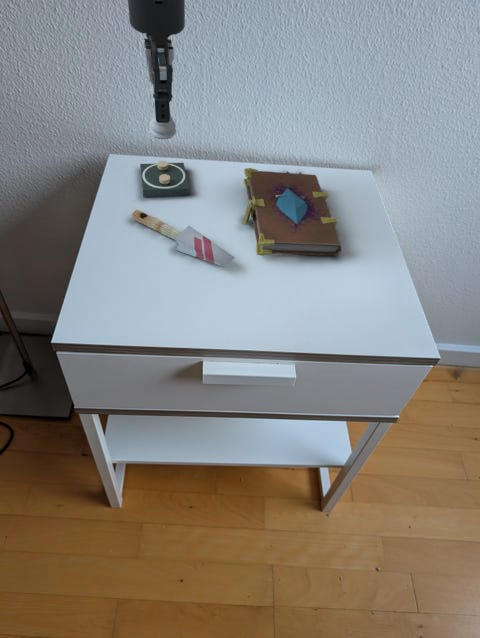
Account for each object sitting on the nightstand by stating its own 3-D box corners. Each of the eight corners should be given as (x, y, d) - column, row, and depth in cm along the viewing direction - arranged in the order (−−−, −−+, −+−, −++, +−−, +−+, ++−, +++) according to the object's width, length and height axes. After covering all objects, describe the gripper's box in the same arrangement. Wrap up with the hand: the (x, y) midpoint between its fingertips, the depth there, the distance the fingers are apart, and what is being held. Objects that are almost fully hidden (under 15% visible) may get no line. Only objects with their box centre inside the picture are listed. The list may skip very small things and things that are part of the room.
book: (310, 177, 89) (317, 155, 85) (338, 262, 74) (348, 240, 70) (232, 171, 86) (236, 149, 82) (246, 259, 71) (251, 236, 67)
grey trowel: (223, 262, 66) (127, 213, 72) (223, 275, 68) (129, 226, 75) (237, 249, 68) (142, 202, 75) (236, 261, 70) (144, 215, 77)
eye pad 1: (157, 170, 81) (157, 166, 81) (157, 164, 82) (156, 160, 82) (168, 170, 82) (168, 166, 81) (167, 164, 83) (167, 160, 82)
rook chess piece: (161, 123, 74) (159, 74, 68) (181, 133, 72) (181, 84, 66) (143, 133, 71) (139, 83, 65) (164, 143, 70) (162, 93, 64)
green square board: (143, 197, 79) (142, 189, 78) (140, 170, 84) (140, 163, 82) (188, 195, 80) (188, 187, 79) (183, 169, 85) (183, 161, 84)
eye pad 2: (159, 184, 79) (159, 180, 78) (159, 177, 80) (158, 174, 79) (170, 184, 79) (170, 180, 78) (169, 177, 80) (169, 173, 79)
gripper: (123, -33, 59) (135, 94, 73) (129, 3, 51) (141, 139, 65) (178, -29, 61) (179, 95, 74) (191, 6, 53) (190, 138, 66)
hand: (161, 115), depth 69 cm, fingers closed on rook chess piece, 3 cm apart
